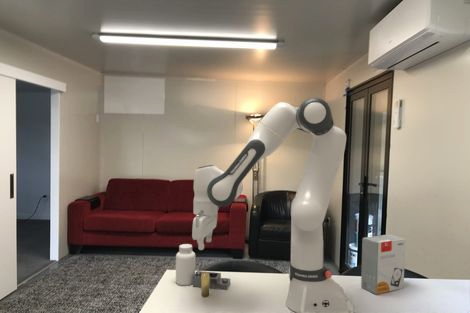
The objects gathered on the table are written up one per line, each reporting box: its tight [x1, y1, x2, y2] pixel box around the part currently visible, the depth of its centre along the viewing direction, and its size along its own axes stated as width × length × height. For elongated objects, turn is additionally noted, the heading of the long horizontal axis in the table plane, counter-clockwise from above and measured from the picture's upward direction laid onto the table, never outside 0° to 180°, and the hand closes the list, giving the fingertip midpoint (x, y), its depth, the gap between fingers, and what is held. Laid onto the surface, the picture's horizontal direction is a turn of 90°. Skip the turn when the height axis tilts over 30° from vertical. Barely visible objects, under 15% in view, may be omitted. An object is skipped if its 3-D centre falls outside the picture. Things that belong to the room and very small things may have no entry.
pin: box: [200, 273, 210, 298], centre depth 117 cm, size 3×3×8 cm
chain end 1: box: [192, 270, 222, 288], centre depth 126 cm, size 10×6×5 cm, turn 79°
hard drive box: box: [360, 233, 406, 295], centre depth 123 cm, size 16×8×20 cm, turn 114°
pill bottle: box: [175, 243, 196, 286], centre depth 129 cm, size 8×8×15 cm
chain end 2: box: [209, 277, 231, 291], centre depth 125 cm, size 10×6×3 cm, turn 79°
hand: (205, 245), depth 117 cm, fingers open, 8 cm apart
